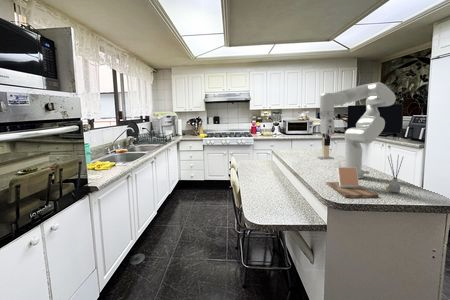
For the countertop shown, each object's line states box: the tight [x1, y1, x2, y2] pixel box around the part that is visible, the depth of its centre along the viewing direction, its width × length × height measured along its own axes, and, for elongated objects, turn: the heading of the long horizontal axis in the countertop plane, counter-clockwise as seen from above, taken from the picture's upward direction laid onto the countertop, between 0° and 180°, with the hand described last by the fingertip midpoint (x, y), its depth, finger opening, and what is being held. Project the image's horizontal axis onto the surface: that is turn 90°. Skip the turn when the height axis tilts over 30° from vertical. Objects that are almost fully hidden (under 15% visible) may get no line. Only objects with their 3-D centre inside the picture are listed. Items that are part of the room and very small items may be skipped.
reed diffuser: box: [385, 153, 404, 193], centre depth 120 cm, size 10×7×20 cm
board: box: [324, 181, 380, 199], centre depth 125 cm, size 16×24×2 cm, turn 179°
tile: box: [336, 166, 360, 188], centre depth 126 cm, size 10×11×1 cm
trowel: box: [316, 136, 335, 161], centre depth 140 cm, size 8×6×13 cm
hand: (325, 145), depth 140 cm, fingers closed on trowel, 3 cm apart
